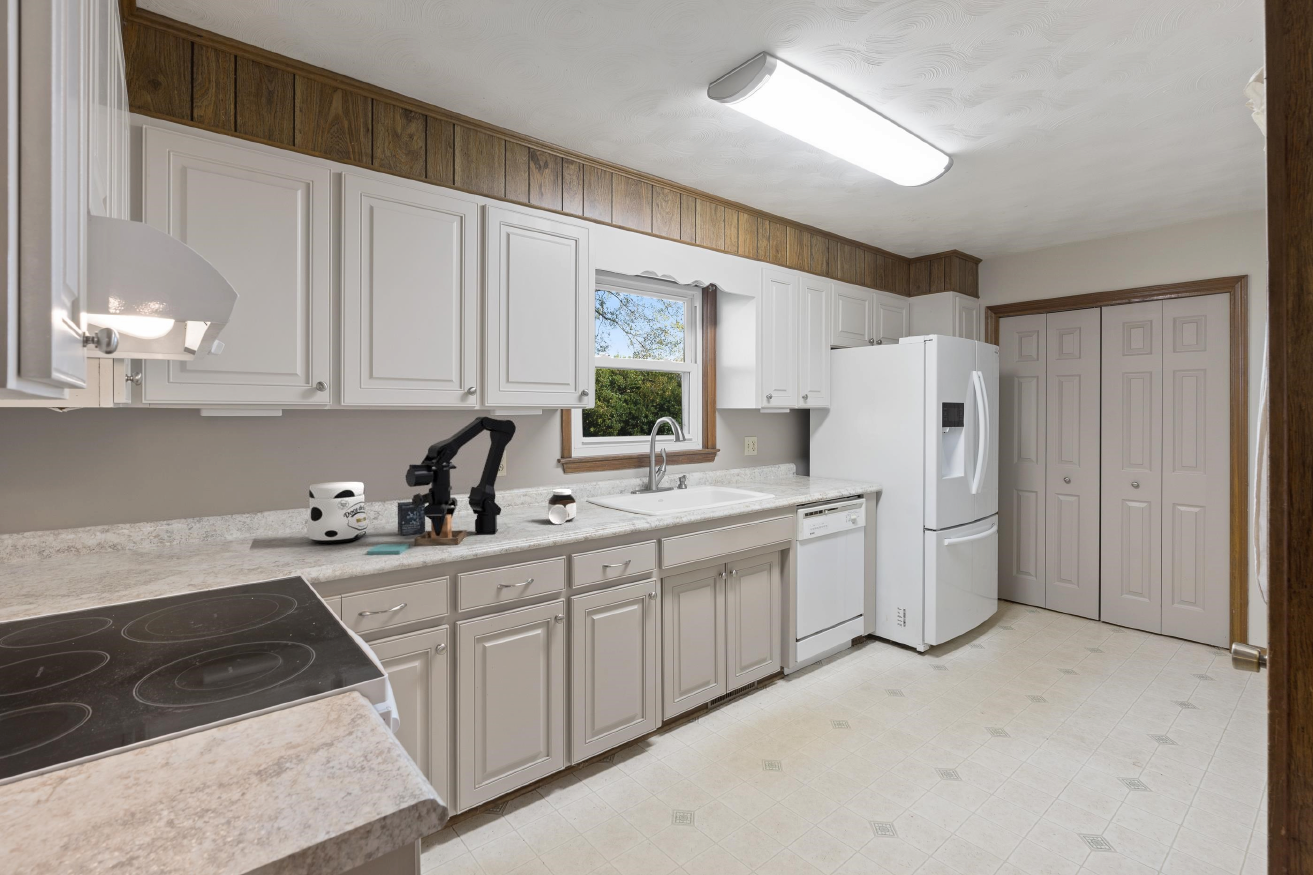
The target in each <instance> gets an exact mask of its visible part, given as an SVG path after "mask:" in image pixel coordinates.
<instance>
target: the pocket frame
mask: <svg viewBox="0 0 1313 875" xmlns="http://www.w3.org/2000/svg"><path fill="white" fill-rule="evenodd" d="M466 536H467V537H468V531H467V530H466V529H463V530H461V529H459V530H452V538H431V530H425V532H424V533H423V534H419V535H418V536H417V537H415V538H414V542H413V543H414V547H418V546H419V547H420V546H423V545H426V546H458V545H460V544H461V543H462V542H463V541H464V540H465V539H466V538H467V537H466ZM465 537H466V538H465ZM464 538H465V539H464ZM463 539H464V540H463ZM423 547H424V546H423Z"/></svg>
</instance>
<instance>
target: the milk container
mask: <svg viewBox="0 0 1313 875" xmlns="http://www.w3.org/2000/svg"><path fill="white" fill-rule="evenodd" d="M308 491H309V492H308V496H309V500H308V502H309V503H308V504H309V515H308V519H307V522H306V532H307V537H308V538H309V540H310V541H312V542H315V543H321V544H337V543H345V542H351V541H355V540H358V539H360V538H363V537H364V536H366V534H367V533H368V528H369V521H368V520H369V519H368V517H367V514H366V510H365V485H364V483H363V482H362V481H361V482H360V481H331V482H321V483H313V484H310V486H309V490H308Z"/></svg>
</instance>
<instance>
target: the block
mask: <svg viewBox="0 0 1313 875" xmlns="http://www.w3.org/2000/svg"><path fill="white" fill-rule="evenodd" d="M430 523H431V524H430V531H431V538H453V537H452V531H453V530H452V519H451V515H447V516H446V519H445V522H444V525H443V528H442V531H441V534H440V536H436V534H435V531H434V528H433V524H432V522H430Z"/></svg>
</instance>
